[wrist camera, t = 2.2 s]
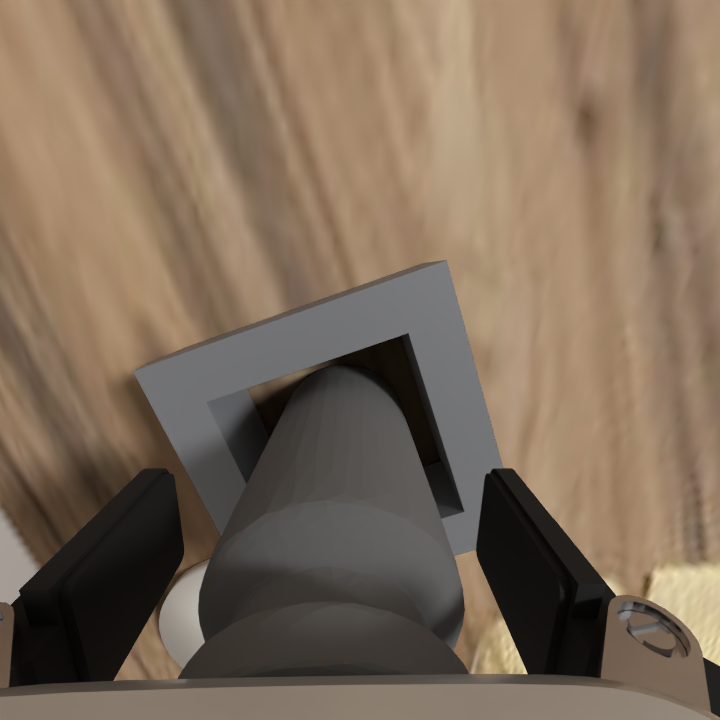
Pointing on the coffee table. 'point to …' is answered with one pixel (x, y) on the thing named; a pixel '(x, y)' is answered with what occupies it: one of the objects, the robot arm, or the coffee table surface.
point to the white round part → (183, 616)
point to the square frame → (316, 345)
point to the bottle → (333, 549)
